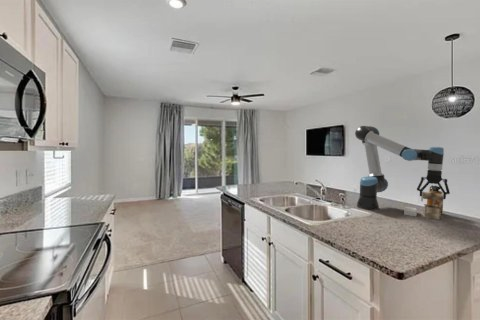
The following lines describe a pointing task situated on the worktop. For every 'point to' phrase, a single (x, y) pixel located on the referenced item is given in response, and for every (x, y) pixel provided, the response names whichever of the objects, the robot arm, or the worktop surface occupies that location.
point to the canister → (435, 202)
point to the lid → (432, 196)
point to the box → (432, 211)
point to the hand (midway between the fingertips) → (431, 202)
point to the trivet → (410, 211)
